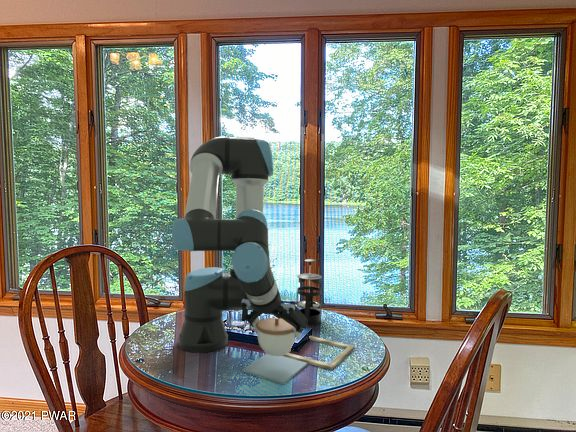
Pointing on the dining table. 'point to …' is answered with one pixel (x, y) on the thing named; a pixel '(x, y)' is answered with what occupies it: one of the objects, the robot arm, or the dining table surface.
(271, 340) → the lidded jar
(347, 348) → the birch frame
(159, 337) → the dining table surface
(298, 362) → the rubber mat
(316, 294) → the french press
